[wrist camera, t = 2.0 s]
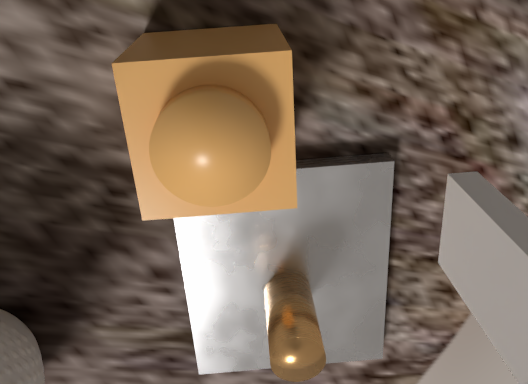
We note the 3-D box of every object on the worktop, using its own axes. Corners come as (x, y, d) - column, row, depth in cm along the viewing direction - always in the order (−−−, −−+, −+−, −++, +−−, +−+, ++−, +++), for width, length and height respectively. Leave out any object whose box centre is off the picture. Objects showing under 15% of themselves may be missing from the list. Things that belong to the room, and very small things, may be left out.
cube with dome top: (144, 33, 24) (103, 70, 16) (276, 23, 24) (295, 56, 17) (163, 156, 27) (137, 235, 19) (282, 147, 27) (300, 222, 19)
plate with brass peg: (169, 169, 27) (151, 233, 21) (388, 152, 27) (431, 210, 21) (200, 360, 33) (192, 451, 27) (377, 345, 33) (408, 432, 27)
